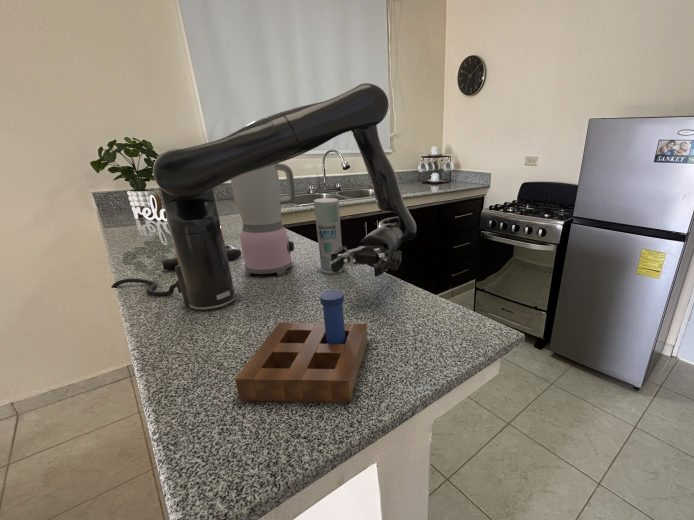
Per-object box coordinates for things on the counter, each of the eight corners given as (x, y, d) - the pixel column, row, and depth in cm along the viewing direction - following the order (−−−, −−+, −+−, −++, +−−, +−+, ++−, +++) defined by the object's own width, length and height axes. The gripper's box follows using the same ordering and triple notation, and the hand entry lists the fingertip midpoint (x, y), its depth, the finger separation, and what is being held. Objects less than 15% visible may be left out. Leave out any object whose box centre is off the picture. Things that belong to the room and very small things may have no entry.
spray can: (345, 265, 104) (339, 198, 97) (342, 273, 99) (337, 202, 91) (322, 265, 104) (315, 198, 96) (319, 273, 98) (311, 202, 90)
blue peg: (323, 362, 60) (316, 299, 56) (329, 349, 64) (323, 290, 59) (345, 362, 60) (340, 300, 56) (350, 350, 64) (345, 290, 59)
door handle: (157, 251, 106) (161, 262, 94) (230, 240, 118) (242, 249, 106) (160, 261, 107) (165, 274, 95) (232, 249, 119) (244, 259, 107)
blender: (239, 278, 93) (213, 152, 81) (253, 263, 104) (232, 150, 92) (300, 276, 96) (284, 153, 84) (307, 261, 107) (294, 150, 95)
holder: (239, 401, 51) (234, 378, 50) (282, 340, 66) (279, 322, 65) (350, 402, 51) (348, 380, 50) (367, 342, 66) (366, 323, 65)
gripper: (350, 228, 82) (318, 248, 67) (409, 232, 79) (390, 254, 65) (351, 258, 84) (321, 284, 70) (409, 263, 82) (390, 291, 67)
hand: (354, 269), depth 67 cm, fingers open, 8 cm apart
